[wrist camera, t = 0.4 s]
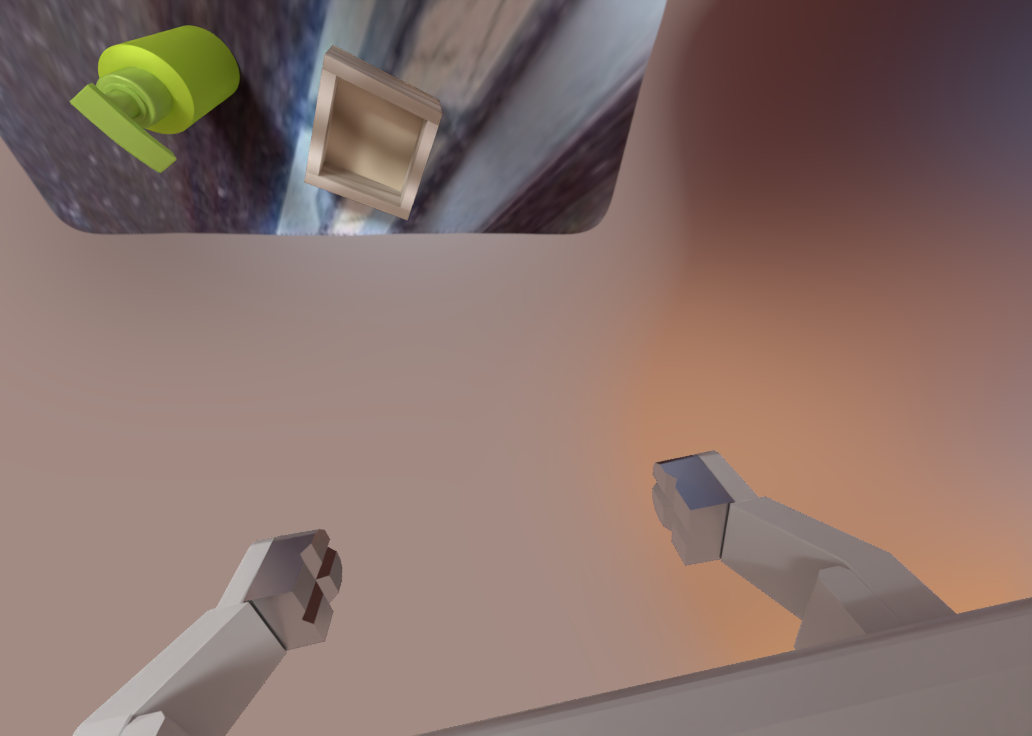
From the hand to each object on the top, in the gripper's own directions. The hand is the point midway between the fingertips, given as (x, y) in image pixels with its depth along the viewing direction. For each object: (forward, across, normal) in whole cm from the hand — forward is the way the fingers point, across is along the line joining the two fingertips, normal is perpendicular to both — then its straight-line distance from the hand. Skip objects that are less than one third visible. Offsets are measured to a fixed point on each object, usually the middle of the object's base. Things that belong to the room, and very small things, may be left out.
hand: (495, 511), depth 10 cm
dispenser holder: (+49, +8, -12) cm, 51 cm away
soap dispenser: (+47, +22, -19) cm, 55 cm away
